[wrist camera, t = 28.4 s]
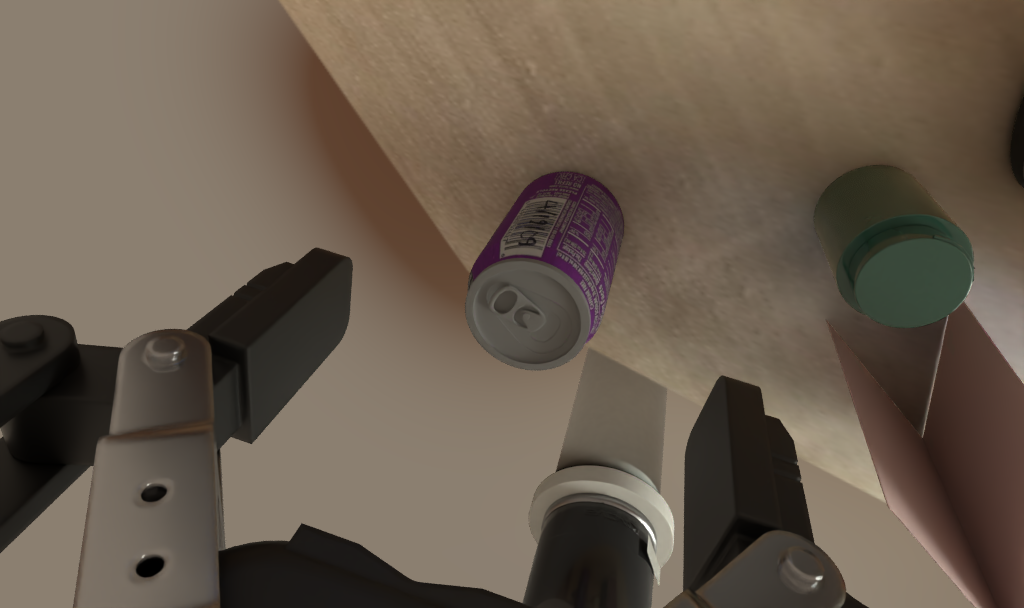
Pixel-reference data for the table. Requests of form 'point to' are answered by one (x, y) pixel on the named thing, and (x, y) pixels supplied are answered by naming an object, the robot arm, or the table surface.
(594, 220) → the beverage can
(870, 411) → the greeting card
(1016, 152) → the computer mouse
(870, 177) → the jar
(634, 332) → the table surface
